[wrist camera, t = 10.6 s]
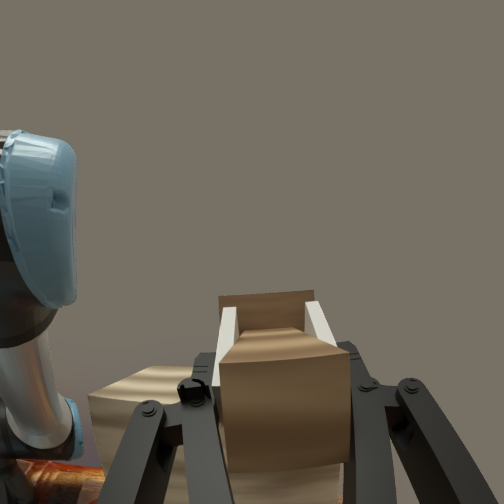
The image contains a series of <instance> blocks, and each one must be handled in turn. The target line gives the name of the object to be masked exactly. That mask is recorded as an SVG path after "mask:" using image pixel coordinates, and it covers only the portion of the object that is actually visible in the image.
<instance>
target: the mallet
mask: <svg viewBox="0 0 504 504" xmlns="http://www.w3.org/2000/svg"><path fill="white" fill-rule="evenodd" d="M312 301H314V290H306V291H293V292H280V293H265V294H250V295H231V296H219V314H220V325H221V319H222V312H223V307H236V310H237V319H238V329H239V339H238V340H237V341H236V343H235V344H234V345H233V346H232V347H231V348H230V350H229V351H228V352H227V353H226V355H225V356H224V357H223V358H222V360H221V361H220V362H219V376H220V389H221V401H222V412H223V423H224V433H225V443H226V453H227V462H228V471H229V473H261V472H277V471H289V470H299V469H307V468H314V467H321V466H328V465H334V464H339V463H345V462H349V451H350V418H351V384H350V352H348V351H345V350H343V349H341V348H338V347H336V346H334V345H331V344H329V343H327V342H324V341H322V340H320V339H317V338H315V337H312V336H310V335H308V334H306V333H304V331H305V302H312Z"/></svg>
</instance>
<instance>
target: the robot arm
mask: <svg viewBox="0 0 504 504" xmlns="http://www.w3.org/2000/svg"><path fill="white" fill-rule="evenodd" d="M76 190H77V160H76V156H75V153H74V151H73V150H72V148H71V147H70V146H69V144H67V143H66V142H64V141H62V140H60V139H54V138H49V137H44V136H39V135H33V134H29V133H28V132H26V131H22V130H16V131H9V130H0V504H38V502H39V498H38V495H37V493H36V490H35V488H34V486H33V485H32V483H31V482H30V481H29V479H28V478H27V476H26V475H25V474H24V472H23V471H22V470H21V468H20V467H19V465H18V463H17V460H16V459H25V460H65V461H71V460H76V459H80V458H82V456H83V455H84V442H83V432H82V426H81V421H80V417H79V412H78V409H77V406H76V404H75V402H74V401H73V400H71V399H66V398H63V397H62V396H61V395H60V394H59V393H58V392H57V389H56V384H55V379H54V374H53V368H52V362H51V355H50V348H49V341H48V333H47V330H48V328H49V327H50V326H51V325H52V323H53V322H54V320H55V318H56V316H57V313H58V310H59V308H62V307H63V306H67V305H71V304H72V303H73V302H75V300H76V297H77V271H76V231H75V228H76ZM304 333H306V334H308V335H310V336H312V337H315V338H317V339H320V340H322V341H324V342H327V343H329V344H331V345H334V346H336V347H338V348H341V349H343V350H345V351H348V352H350V384H351V418H350V451H349V462H345V463H344V483H343V504H397V500H396V487H395V477H394V468H393V460H392V452H391V445H390V438H391V440H392V443H393V445H394V447H395V449H396V451H397V453H398V455H399V458H400V460H401V462H402V464H403V466H404V469H405V471H406V473H407V475H408V478H409V480H410V482H411V484H412V487H413V489H414V491H415V494H416V496H417V498H418V501H419V503H420V504H498V502H497V500H496V498H495V497H494V495H493V493H492V491H491V489H490V488H489V486H488V484H487V482H486V481H485V479H484V477H483V475H482V474H481V472H480V470H479V469H478V467H477V465H476V464H475V462H474V460H473V459H472V457H471V455H470V454H469V452H468V450H467V449H466V447H465V446H464V444H463V443H462V441H461V439H460V438H459V436H458V435H457V433H456V431H455V430H454V428H453V427H452V425H451V424H450V422H449V421H448V419H447V418H446V416H445V415H444V413H443V412H442V410H441V409H440V407H439V406H438V404H437V403H436V401H435V400H434V398H433V397H432V395H431V394H430V392H429V391H428V389H427V388H426V387H425V385H424V384H423V383H422V382H421V381H420V380H418V379H415V378H406V379H403V380H401V381H400V383H399V384H398V386H385V385H381V384H379V382H378V381H377V380H376V379H374V378H372V377H370V375H369V373H368V371H367V369H366V367H365V364H364V363H363V360H362V359H361V356H360V354H359V352H358V350H357V348H356V347H355V345H353V344H352V343H351V342H349V341H346V342H339V343H336V342H335V340H334V338H333V335H332V333H331V331H330V328H329V326H328V323H327V322H326V319H325V317H324V314H323V312H322V309H321V307H320V305H319V303H318V301H312V302H305V331H304ZM238 339H239V329H238V319H237V310H236V307H223V312H222V319H221V325H220V332H219V338H218V345H217V352H214V353H200V354H199V355H198V356H197V357H196V359H195V362H194V367H193V370H192V374H191V377H189V378H186V379H184V380H182V381H181V382H180V383H179V384H178V386H177V392H178V395H179V398H180V401H179V402H177V403H174V404H170V405H165V406H162V404H161V403H160V402H158V401H156V400H146V401H142V402H141V403H139V404H138V405H137V406H136V408H135V409H134V411H133V414H132V416H131V418H130V421H129V423H128V425H127V428H126V430H125V433H124V435H123V437H122V440H121V442H120V445H119V447H118V449H117V452H116V454H115V457H114V459H113V462H112V464H111V467H110V469H109V472H108V474H107V477H106V479H105V482H104V484H103V487H102V490H101V492H100V495H99V497H98V500H97V503H96V504H164V500H165V495H166V491H167V487H168V483H169V479H170V475H171V471H172V467H173V463H174V459H175V455H176V451H177V447H178V446H180V445H184V458H185V469H186V479H187V488H188V497H189V504H235V502H234V498H233V493H232V489H231V484H230V480H229V475H228V471H227V466H226V461H225V457H224V452H223V447H222V442H221V436H220V432H219V422H220V426H224V423H223V412H222V401H221V389H220V376H219V362H220V361H221V360H222V358H223V357H224V356H225V355H226V353H227V352H228V351H229V350H230V348H231V347H232V346H233V345H234V344H235V343H236V341H237V340H238ZM389 436H390V438H389Z"/></svg>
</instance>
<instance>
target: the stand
mask: <svg viewBox="0 0 504 504" xmlns="http://www.w3.org/2000/svg"><path fill="white" fill-rule="evenodd" d="M192 370H193V367H176V366H151V367H148V368H146V369H144V370H142V371H140V372H138V373H135V374H133V375H131V376H129V377H127V378H125V379H123V380H120V381H118V382H116V383H113V384H111V385H109V386H107V387H104V388H102V389H100V390H98V391H95V392H93V393H91V394H88V395H87V396H88V403H89V409H90V415H91V420H92V426H93V431H94V435H95V440H96V444H97V449H98V453H99V457H100V461H101V465H102V468H103V472H104V476H105V479H106V477H107V474H108V472H109V469H110V467H111V464H112V462H113V459H114V457H115V454H116V452H117V449H118V447H119V445H120V442H121V440H122V437H123V435H124V433H125V430H126V428H127V425H128V423H129V421H130V418H131V416H132V414H133V411H134V409H135V408H136V406H137V405H138V404H139V403H141V402H142V401H146V400H156V401H158V402H160V403H161V404H162V406H165V405H170V404H174V403H177V402H179V401H180V398H179V395H178V392H177V386H178V384H179V383H180V382H181V381H182V380H184V379H186V378H189V377H191V374H192ZM219 432H220V436H221V442H222V447H223V452H224V457H225V461H226V466H227V471H228V462H227V453H226V443H225V433H224V426H220V422H219ZM339 469H340V463H339V464H334V465H328V466H321V467H314V468H307V469H299V470H289V471H277V472H261V473H229V471H228V475H229V480H230V484H231V489H232V493H233V498H234V502H235V504H337V501H338V488H339V471H340V470H339ZM164 504H189V497H188V488H187V479H186V469H185V458H184V445H180V446H178V447H177V451H176V455H175V459H174V463H173V467H172V471H171V475H170V479H169V483H168V487H167V491H166V495H165V500H164Z"/></svg>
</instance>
